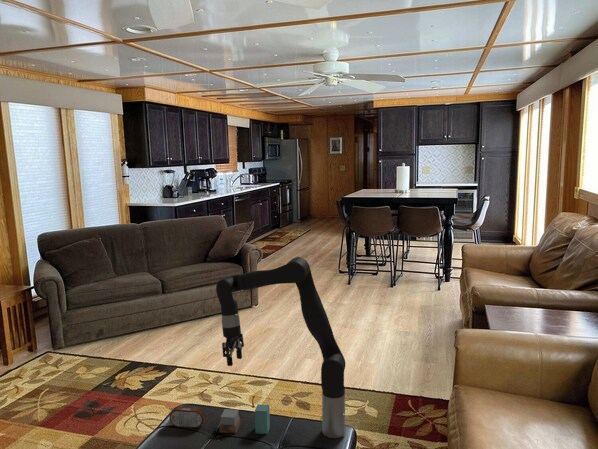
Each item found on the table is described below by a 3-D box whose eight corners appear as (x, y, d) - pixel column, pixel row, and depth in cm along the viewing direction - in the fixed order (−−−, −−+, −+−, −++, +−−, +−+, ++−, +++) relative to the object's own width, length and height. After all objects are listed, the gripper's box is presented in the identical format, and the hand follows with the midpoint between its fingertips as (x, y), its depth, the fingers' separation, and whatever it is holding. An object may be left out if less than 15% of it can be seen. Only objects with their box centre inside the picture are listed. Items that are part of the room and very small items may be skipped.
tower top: (238, 417, 195) (238, 410, 195) (234, 425, 189) (234, 417, 189) (225, 416, 196) (224, 409, 196) (220, 424, 190) (220, 416, 190)
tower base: (240, 424, 196) (240, 417, 196) (236, 434, 189) (235, 426, 189) (224, 423, 197) (224, 415, 196) (219, 433, 190) (219, 425, 190)
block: (269, 427, 193) (269, 405, 192) (267, 434, 188) (266, 411, 187) (258, 426, 194) (257, 404, 193) (255, 433, 189) (254, 410, 188)
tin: (205, 425, 195) (205, 406, 194) (203, 429, 192) (202, 410, 191) (171, 423, 197) (170, 405, 196) (169, 427, 194) (168, 409, 193)
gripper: (230, 329, 185) (234, 368, 185) (246, 319, 198) (250, 356, 199) (214, 329, 187) (218, 368, 188) (231, 319, 201) (235, 356, 201)
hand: (235, 362), depth 193 cm, fingers open, 8 cm apart
